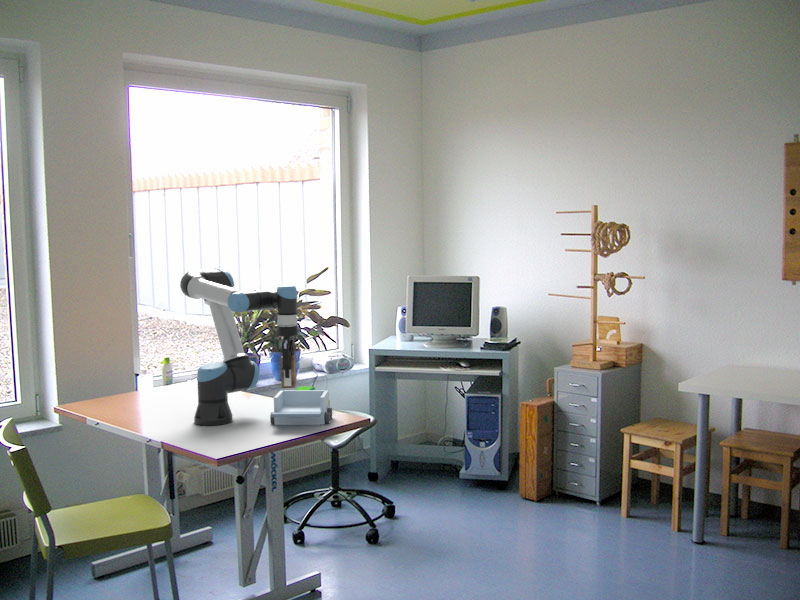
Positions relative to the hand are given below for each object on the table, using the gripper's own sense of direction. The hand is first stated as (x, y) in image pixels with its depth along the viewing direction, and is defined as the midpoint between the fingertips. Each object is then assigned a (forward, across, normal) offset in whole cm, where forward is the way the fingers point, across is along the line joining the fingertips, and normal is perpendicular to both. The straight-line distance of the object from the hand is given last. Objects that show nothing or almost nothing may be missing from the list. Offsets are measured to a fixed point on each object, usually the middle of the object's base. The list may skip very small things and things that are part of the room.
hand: (289, 384), depth 299 cm
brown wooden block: (+1, 0, 0) cm, 1 cm away
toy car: (+17, +28, -5) cm, 34 cm away
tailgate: (+12, +4, -3) cm, 13 cm away
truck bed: (+17, +12, -3) cm, 21 cm away
